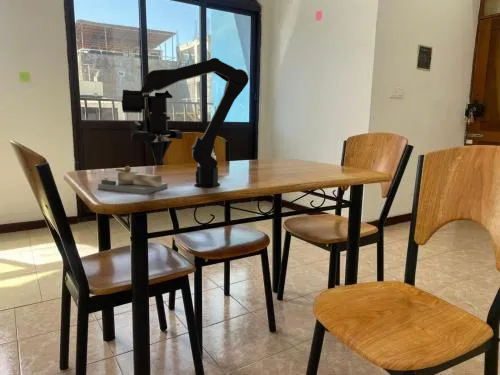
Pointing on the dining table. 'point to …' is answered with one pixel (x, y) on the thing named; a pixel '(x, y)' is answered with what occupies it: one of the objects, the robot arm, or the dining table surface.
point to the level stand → (129, 187)
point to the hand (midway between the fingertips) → (159, 163)
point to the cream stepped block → (137, 178)
